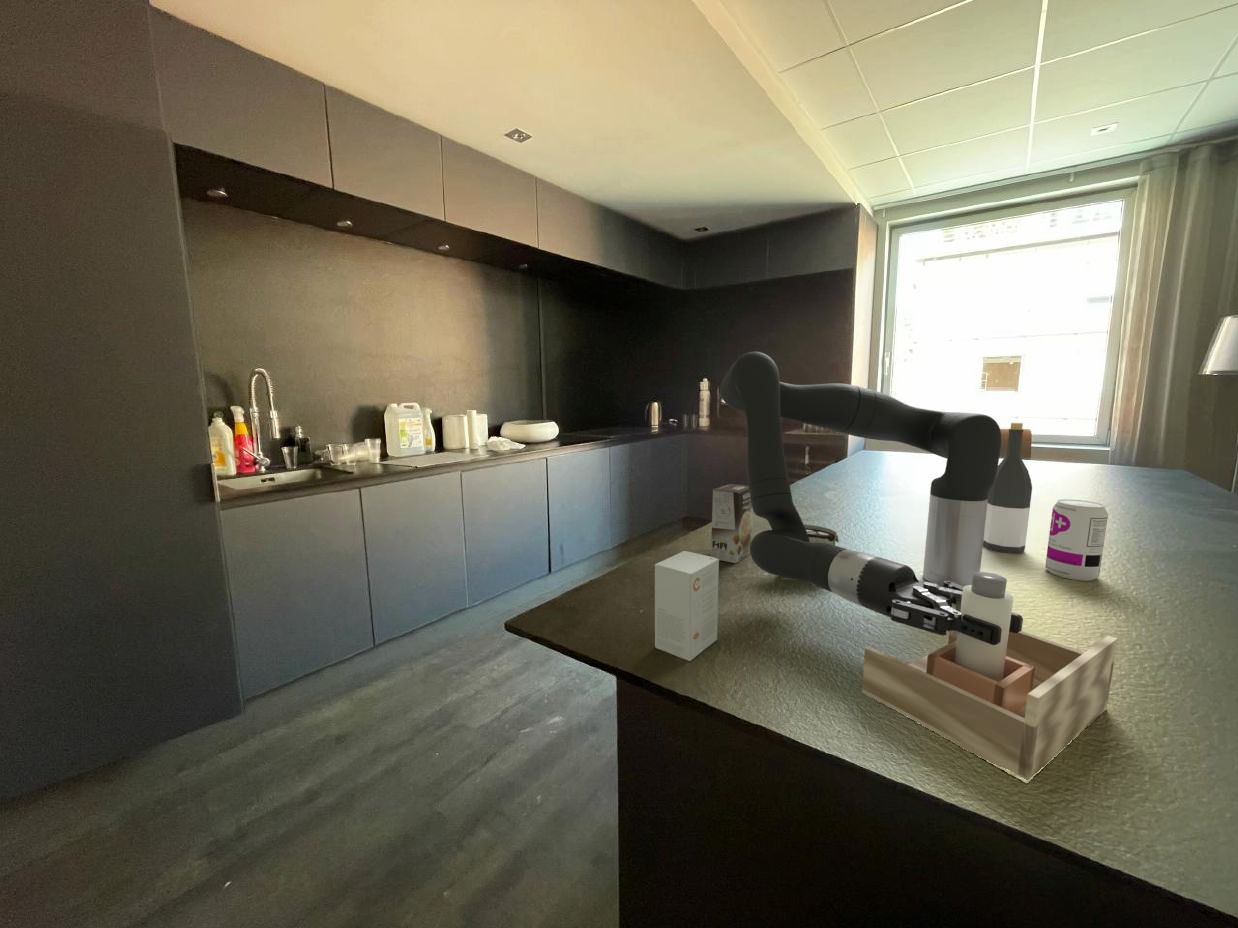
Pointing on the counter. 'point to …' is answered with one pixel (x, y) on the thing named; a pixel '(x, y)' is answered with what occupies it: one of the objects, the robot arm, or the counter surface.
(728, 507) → the coffee box
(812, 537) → the food container
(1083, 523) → the supplement can
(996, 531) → the wine bottle
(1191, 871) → the counter surface
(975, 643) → the white plastic bottle
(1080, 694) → the wooden tray
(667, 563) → the small box
